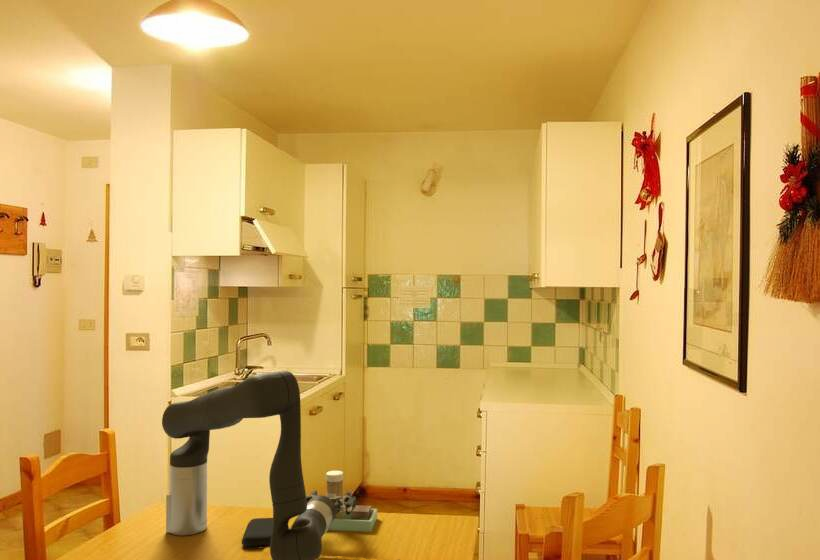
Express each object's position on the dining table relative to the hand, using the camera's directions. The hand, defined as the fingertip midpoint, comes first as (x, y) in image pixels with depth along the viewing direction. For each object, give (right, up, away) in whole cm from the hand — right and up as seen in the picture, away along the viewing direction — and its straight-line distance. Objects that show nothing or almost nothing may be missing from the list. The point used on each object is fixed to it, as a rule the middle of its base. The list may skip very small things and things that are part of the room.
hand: (332, 494), depth 162 cm
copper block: (+7, -9, +4) cm, 12 cm away
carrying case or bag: (-16, -10, -3) cm, 19 cm away
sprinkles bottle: (0, -9, +4) cm, 10 cm away
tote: (+3, -10, +4) cm, 11 cm away
